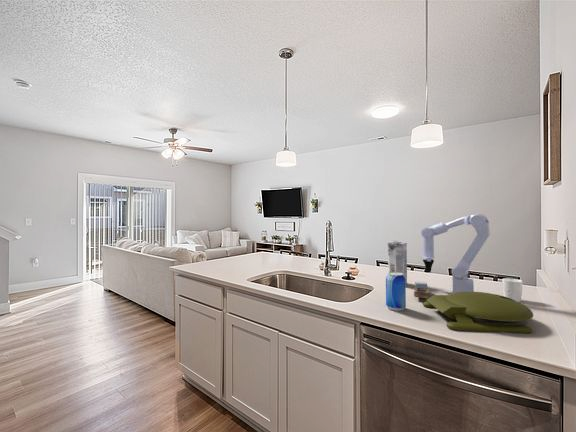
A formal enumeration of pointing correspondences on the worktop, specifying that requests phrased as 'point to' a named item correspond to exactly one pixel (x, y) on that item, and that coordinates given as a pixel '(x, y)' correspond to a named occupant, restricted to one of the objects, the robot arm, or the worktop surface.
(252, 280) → the worktop surface
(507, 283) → the white cup
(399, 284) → the beer can
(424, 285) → the block
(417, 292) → the wooden tray
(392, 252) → the juice carton
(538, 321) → the worktop surface
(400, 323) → the worktop surface
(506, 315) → the spaceship
